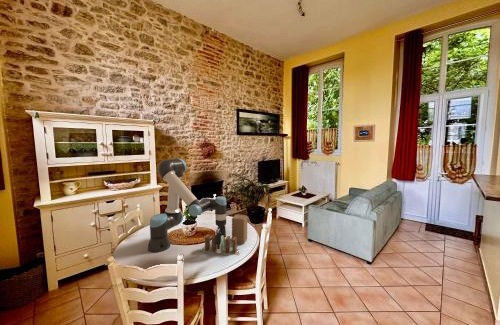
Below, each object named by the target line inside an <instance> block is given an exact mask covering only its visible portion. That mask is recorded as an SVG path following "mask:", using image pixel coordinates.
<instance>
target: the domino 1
mask: <svg viewBox="0 0 500 325" xmlns="http://www.w3.org/2000/svg"><path fill="white" fill-rule="evenodd" d="M204 246H205V251H208V250H209V249H210V247H211V234H206V235H205V236H204Z"/></svg>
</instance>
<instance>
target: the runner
mask: <svg viewBox="0 0 500 325" xmlns="http://www.w3.org/2000/svg"><path fill="white" fill-rule="evenodd" d="M238 250H240V248H237V251H238ZM237 251H236V253H235V254H232V248H231V247H230V251H229V253H225V247H224V249H223V251H222V252H221V253H219V254H220V255H232V256H240V254H241V252H240V253H239V251H238V252H237ZM200 252H201V253H212V254H218V253H217V249H216V250H215V252H212V246H210V249H209V250H208V251H205V245H204V246H203V247H202V248H201V250H200Z"/></svg>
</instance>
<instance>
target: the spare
mask: <svg viewBox="0 0 500 325" xmlns="http://www.w3.org/2000/svg"><path fill="white" fill-rule="evenodd" d="M220 244H221V252H222V251H223V249H224V248H225V246H224V236H222V235H221V242H220Z"/></svg>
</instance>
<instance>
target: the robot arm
mask: <svg viewBox="0 0 500 325" xmlns="http://www.w3.org/2000/svg"><path fill="white" fill-rule="evenodd" d="M186 171H187V163H186V161H185V160H184V159H182V158H170V159H167V158H166V159H163V160H161V161H160V162H159V164H158V166H157V173H158V175H159V177H160V178H161V179H162V180H163V181H164V182H166V183H167V184H168V191H167V203H166V204H167V205H166V206H167V207H166V208H165V210H164V213H157V214H154V215H152V217H150V219H149V233H150V234H149V235H150V237H149V238H150V239H149V242H148V244H147V249H148V251H149V252H151V253H159V252H164V251H166V250H168V249H169V248H170V247H171V241H170V238H169V235H168V234H169V233H168V231H169V230H170V229H172V228H174V227H177V226H178V225H180V224H181V223H182V222H183V220H184V214H183V211H182V210H181V208H180V199H181V200H182V201H183V202H184V203H185V205H186V206H187V207H188V212H189V215H190V216H192V217H197V216H200V215H201V214H203V213H205V212H207V211H209V210H212V211H214V212H215V215H214V216H215V225H216V226H217V229H216V232H215V235H216V243H215V244H216V245H217V253H216V254H220V253H221V244H220V242H221V235H222V236H224V247H225V239H226V237H227V233H226V231H227V230H226V225H227V216H228V215H227V204H228V203H227V198H226V197H225V196H217V197H215V198H208V197H203V198H201V199H200V200H199V199H198V198H197V197H196V196H195V194H193V192H191V190H190V189H189V188H188V187H187V186H186V184H185V183H184V182H183V181H182V178H183V177H184V173H185V172H186Z"/></svg>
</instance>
